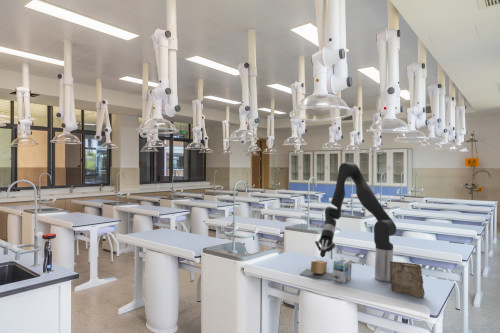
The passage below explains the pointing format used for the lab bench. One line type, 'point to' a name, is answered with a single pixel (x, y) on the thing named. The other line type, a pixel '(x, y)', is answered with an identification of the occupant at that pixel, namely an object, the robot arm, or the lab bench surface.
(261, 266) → the lab bench surface
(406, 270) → the mineral sample
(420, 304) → the lab bench surface
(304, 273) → the mat
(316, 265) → the oak block
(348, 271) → the light bulb box
